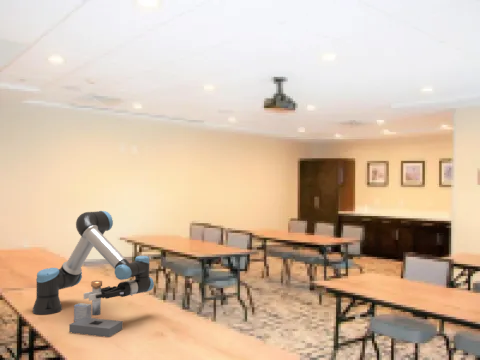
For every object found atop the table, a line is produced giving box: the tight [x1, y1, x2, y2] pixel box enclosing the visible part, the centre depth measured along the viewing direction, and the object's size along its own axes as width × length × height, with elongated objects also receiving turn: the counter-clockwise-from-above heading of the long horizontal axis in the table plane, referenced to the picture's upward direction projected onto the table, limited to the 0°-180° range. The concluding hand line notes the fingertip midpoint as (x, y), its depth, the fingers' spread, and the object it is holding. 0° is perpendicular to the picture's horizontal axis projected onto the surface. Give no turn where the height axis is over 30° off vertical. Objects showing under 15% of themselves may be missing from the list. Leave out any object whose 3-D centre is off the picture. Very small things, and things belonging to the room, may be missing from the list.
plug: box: [90, 280, 103, 316], centre depth 218 cm, size 5×5×16 cm
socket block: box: [68, 317, 124, 338], centre depth 218 cm, size 22×12×4 cm, turn 75°
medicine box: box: [73, 302, 92, 322], centre depth 234 cm, size 8×4×9 cm, turn 74°
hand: (86, 296), depth 214 cm, fingers closed on plug, 4 cm apart
